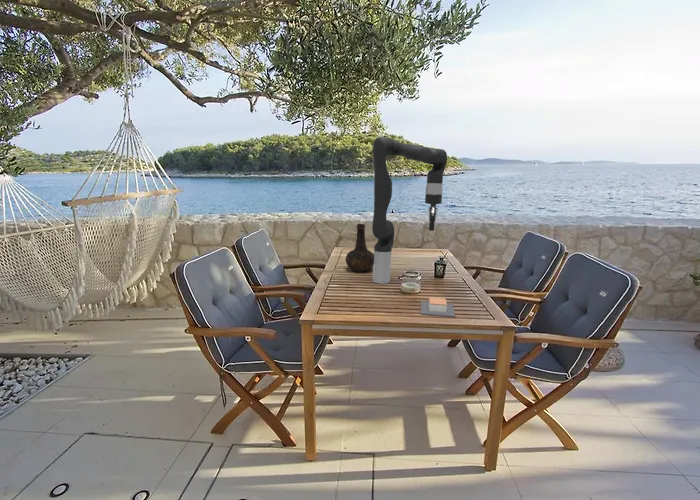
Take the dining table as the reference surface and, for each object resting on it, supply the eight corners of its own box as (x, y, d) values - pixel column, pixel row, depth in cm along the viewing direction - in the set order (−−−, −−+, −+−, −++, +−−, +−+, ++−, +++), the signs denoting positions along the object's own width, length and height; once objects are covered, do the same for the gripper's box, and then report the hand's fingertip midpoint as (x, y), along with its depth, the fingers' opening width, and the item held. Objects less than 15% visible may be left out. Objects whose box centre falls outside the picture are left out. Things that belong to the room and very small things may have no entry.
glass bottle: (376, 267, 241) (378, 222, 236) (373, 274, 224) (375, 226, 219) (348, 265, 244) (349, 221, 239) (342, 272, 227) (343, 225, 221)
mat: (420, 314, 164) (420, 313, 163) (420, 302, 179) (420, 300, 179) (455, 317, 161) (455, 315, 161) (452, 304, 177) (452, 303, 177)
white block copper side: (428, 304, 174) (429, 311, 166) (429, 297, 173) (430, 303, 165) (444, 306, 173) (446, 312, 165) (445, 298, 172) (446, 304, 164)
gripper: (425, 192, 186) (423, 228, 190) (425, 193, 174) (423, 232, 177) (441, 192, 185) (438, 228, 188) (443, 194, 172) (440, 232, 176)
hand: (431, 230), depth 183 cm, fingers closed
